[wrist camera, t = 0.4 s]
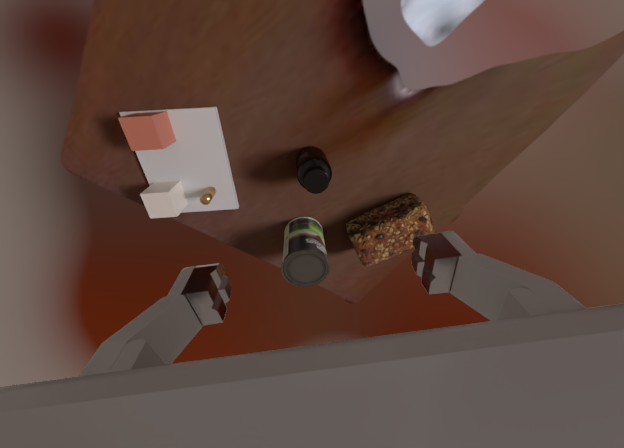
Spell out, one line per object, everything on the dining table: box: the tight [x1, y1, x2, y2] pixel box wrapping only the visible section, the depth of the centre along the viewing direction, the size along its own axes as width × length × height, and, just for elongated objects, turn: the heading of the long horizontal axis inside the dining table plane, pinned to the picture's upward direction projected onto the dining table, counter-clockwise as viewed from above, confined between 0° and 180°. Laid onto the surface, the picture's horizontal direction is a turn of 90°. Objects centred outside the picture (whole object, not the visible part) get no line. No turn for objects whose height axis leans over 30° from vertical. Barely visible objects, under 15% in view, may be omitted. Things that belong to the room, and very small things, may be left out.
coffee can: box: [281, 217, 329, 287], centre depth 59 cm, size 10×10×14 cm
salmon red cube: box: [118, 111, 176, 151], centre depth 46 cm, size 6×6×6 cm
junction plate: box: [119, 107, 239, 213], centre depth 53 cm, size 22×18×1 cm
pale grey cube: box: [140, 181, 188, 218], centre depth 53 cm, size 6×6×6 cm
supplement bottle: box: [296, 147, 332, 194], centre depth 50 cm, size 7×7×12 cm
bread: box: [346, 193, 435, 266], centre depth 60 cm, size 19×11×10 cm, turn 116°
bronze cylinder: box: [200, 187, 216, 205], centre depth 54 cm, size 2×2×5 cm
